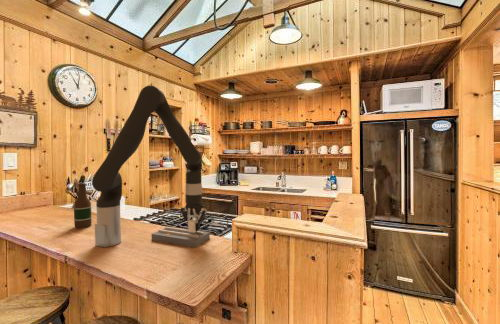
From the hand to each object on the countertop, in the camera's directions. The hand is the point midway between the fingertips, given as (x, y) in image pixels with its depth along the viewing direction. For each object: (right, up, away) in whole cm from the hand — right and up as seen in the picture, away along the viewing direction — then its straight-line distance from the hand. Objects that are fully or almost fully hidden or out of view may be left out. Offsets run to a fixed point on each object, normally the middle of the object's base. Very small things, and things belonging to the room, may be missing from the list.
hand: (194, 229), depth 112 cm
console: (-7, -5, +3) cm, 9 cm away
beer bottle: (-66, -5, +22) cm, 70 cm away
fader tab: (0, -2, 0) cm, 2 cm away
